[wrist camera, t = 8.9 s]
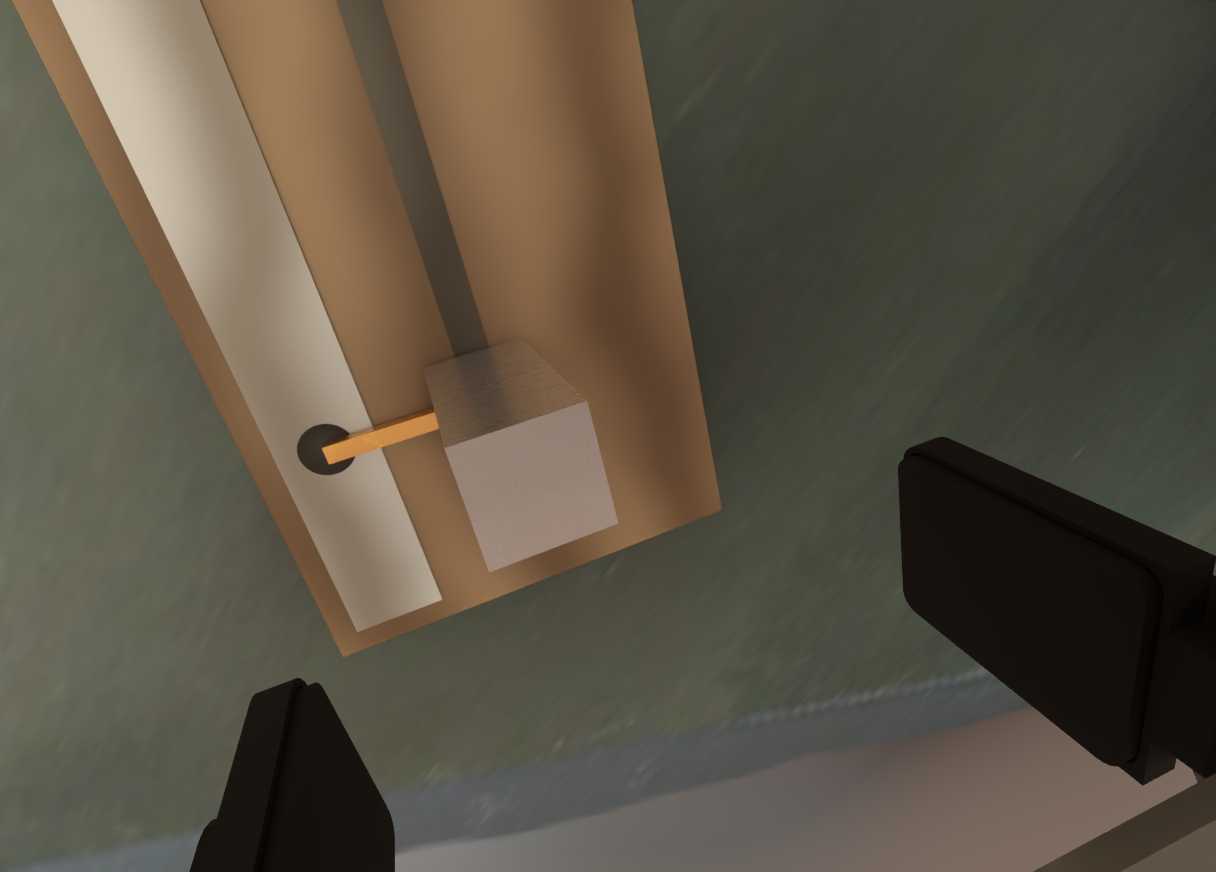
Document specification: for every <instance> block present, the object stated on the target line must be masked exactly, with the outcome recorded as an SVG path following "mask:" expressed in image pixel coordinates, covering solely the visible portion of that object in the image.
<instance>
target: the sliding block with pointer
mask: <svg viewBox="0 0 1216 872" xmlns="http://www.w3.org/2000/svg"><path fill="white" fill-rule="evenodd" d="M423 369H424V373H425V376H426V380H427V384H428V388H429V392H430V396H431V399H432V403H433V407H434V408H431V409H428V410H425V411H422V412H419V413H416V414H413V415H409V416H406V417H403V418H400V419H397V420H394V421H391V422H387V423H384V424H381V425H378V426H375V427H372V428H369V429H365V430H362V431H359V432H356V433H353V434H350V435H346V436H343V437H340V438H337V439H334V440H331V441H328V442H324V443H323V445H322V450H323V452H324V454H325V457H326V459H327V461H328V463H329V464H332V463H335V462H339V461H342V460H345V459H348V458H351V457H354V456H357V455H360V454H363V453H366V452H369V451H372V450H375V449H378V448H382V447H385V446H388V445H391V444H394V443H397V442H400V441H403V440H406V439H409V438H412V437H415V436H418V435H422V434H425V433H428V432H431V431H434V430H437V429H439V430H440V434H441V438H442V441H443V445H444V449H445V452H446V454H447V457H448V460H449V463H450V465H451V468H452V471H453V474H454V477H455V479H456V482H457V485H458V488H459V490H460V493H461V496H462V499H463V501H464V504H465V507H466V510H467V513H468V515H469V518H470V521H471V524H472V526H473V529H474V532H475V535H476V537H477V540H478V543H479V546H480V548H481V551H482V554H483V557H484V560H485V562H486V565H487V568H488V571H489V572H492V571H494V570H497V569H500V568H502V567H505V566H508V565H510V564H513V563H515V562H518V561H521V560H523V559H526V558H529V557H531V556H534V555H537V554H539V553H542V552H545V551H547V550H550V549H552V548H555V547H558V546H560V545H563V544H566V543H568V542H571V541H574V540H576V539H579V538H581V537H584V536H587V535H589V534H592V533H595V532H597V531H600V530H603V529H605V528H608V527H610V526H613V525H616V524H618V520H617V516H616V512H615V508H614V504H613V500H612V496H611V492H610V488H609V484H608V480H607V477H606V473H605V469H604V465H603V461H602V457H601V453H600V449H599V445H598V441H597V437H596V433H595V429H594V425H593V421H592V417H591V414H590V410H589V406H588V402H587V400H586V399H585V398H584V397H583V396H582V395H581V394H580V393H579V392H577V391H576V390H575V389H574V388H573V387H572V386H571V385H570V384H569V383H568V382H567V381H566V380H565V379H564V378H563V377H562V376H561V375H560V374H559V373H557V372H556V371H555V370H554V369H553V368H552V367H551V366H550V365H549V364H548V363H547V362H546V361H545V360H544V359H543V358H542V357H541V356H540V355H539V354H537V353H536V352H535V351H534V350H533V349H532V348H531V347H530V346H529V345H528V344H527V343H526V342H525V341H524V340H523V339H522V338H517V339H514V340H511V341H507V342H504V343H501V344H498V345H494V346H491V347H488V348H484V349H481V350H478V351H474V352H471V353H468V354H465V355H461V356H458V357H455V358H451V359H448V360H445V361H441V362H438V363H435V364H432V365H428V366H425V367H423Z"/></svg>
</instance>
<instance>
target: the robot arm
mask: <svg viewBox="0 0 1216 872" xmlns="http://www.w3.org/2000/svg"><path fill="white" fill-rule="evenodd" d="M898 480H899V503H900V527H901V551H902V575H903V592H904V596H905V598H906V600H907V602H908V604H909V606H910V607H911V608H912V609H913V610H914V611H915V612H916V613H917V614H918V615H919V616H921V617H922V618H923V619H924V620H926V621H927V622H928V623H929V624H931V625H932V626H933V627H934V628H936V629H937V630H938V631H939V632H940V633H942V634H943V635H944V636H945V637H947V638H948V639H949V640H950V641H952V642H953V643H954V644H955V645H957V646H958V647H959V648H960V649H962V650H963V651H964V652H965V653H967V654H968V655H969V656H970V657H972V658H973V659H974V660H975V661H977V662H978V663H979V664H980V665H982V666H983V667H984V668H985V669H987V670H988V671H989V672H990V673H992V674H993V675H994V676H995V677H997V678H998V679H999V680H1000V681H1002V682H1003V683H1004V684H1005V685H1007V686H1008V687H1009V688H1010V689H1012V690H1013V691H1014V692H1015V693H1016V694H1018V695H1019V696H1020V697H1021V698H1023V699H1024V700H1025V701H1026V702H1028V703H1029V704H1030V705H1031V706H1033V707H1034V708H1035V709H1036V710H1038V711H1039V712H1040V713H1041V714H1043V715H1044V716H1045V717H1047V718H1048V719H1049V720H1050V721H1051V722H1053V723H1054V724H1055V725H1056V726H1058V727H1059V728H1060V729H1061V730H1063V731H1064V732H1065V733H1066V734H1068V735H1069V736H1070V737H1071V738H1073V739H1074V740H1075V741H1076V742H1078V743H1079V744H1080V745H1081V746H1083V747H1084V748H1085V749H1086V750H1087V751H1089V752H1090V753H1091V754H1092V755H1094V756H1095V757H1096V758H1098V759H1099V760H1101V761H1102V762H1103V763H1106V764H1108V765H1110V766H1119V767H1120V768H1121V769H1123V770H1124V771H1125V772H1127V773H1128V774H1129V775H1130V776H1131V777H1133V778H1134V779H1135V780H1136V781H1138V782H1139V783H1140V784H1141V785H1145V784H1147V783H1148V782H1150V781H1152V780H1154V779H1156V778H1158V777H1160V776H1161V775H1163V774H1165V773H1167V772H1169V771H1171V770H1173V769H1174V768H1175V762H1176V758H1177V759H1179V760H1180V761H1182V762H1183V763H1185V764H1186V765H1187V766H1188V767H1190V768H1191V769H1193V772H1194V774H1195V777H1196V779H1197V782H1198V783H1197V784H1195V785H1193V786H1191V787H1189V788H1188V789H1186V790H1184V791H1182V792H1180V793H1178V794H1176V795H1174V796H1173V797H1171V798H1169V799H1167V800H1165V801H1163V802H1162V803H1160V804H1158V805H1156V806H1154V807H1152V808H1150V809H1149V810H1147V811H1145V812H1143V813H1141V814H1139V815H1137V816H1135V817H1134V818H1132V819H1130V820H1128V821H1126V822H1125V823H1122V824H1121V825H1119V826H1117V827H1115V828H1113V829H1111V830H1110V831H1108V832H1106V833H1104V834H1102V835H1100V836H1099V837H1096V838H1095V839H1093V840H1091V841H1089V842H1087V843H1086V844H1084V845H1082V846H1080V847H1078V848H1076V849H1074V850H1072V851H1071V852H1069V853H1067V854H1065V855H1063V856H1061V857H1060V858H1057V859H1056V860H1054V861H1052V862H1050V863H1048V864H1046V865H1045V866H1043V867H1041V868H1039V869H1037V870H1035V871H1034V872H1216V576H1214V575H1213V571H1214V566H1215V561H1216V556H1215V555H1212V554H1210V553H1208V552H1205V551H1203V550H1201V549H1199V548H1196V547H1194V546H1192V545H1190V544H1187V543H1185V542H1183V541H1180V540H1178V539H1176V538H1174V537H1171V536H1169V535H1167V534H1165V533H1162V532H1160V531H1158V530H1155V529H1153V528H1151V527H1149V526H1146V525H1144V524H1142V523H1140V522H1137V521H1135V520H1133V519H1130V518H1128V517H1126V516H1124V515H1121V514H1119V513H1117V512H1115V511H1112V510H1110V509H1108V508H1106V507H1103V506H1101V505H1099V504H1096V503H1094V502H1092V501H1090V500H1087V499H1085V498H1083V497H1081V496H1078V495H1076V494H1074V493H1071V492H1069V491H1067V490H1065V489H1062V488H1060V487H1058V486H1056V485H1053V484H1051V483H1049V482H1046V481H1044V480H1042V479H1040V478H1037V477H1035V476H1033V475H1031V474H1028V473H1026V472H1024V471H1021V470H1019V469H1017V468H1015V467H1012V466H1010V465H1008V464H1006V463H1003V462H1001V461H999V460H996V459H994V458H992V457H990V456H987V455H985V454H983V453H981V452H978V451H976V450H974V449H972V448H969V447H967V446H965V445H962V444H960V443H958V442H956V441H953V440H951V439H949V438H945V437H938V438H935V439H932V440H929V441H927V442H924V443H921V444H919V445H916V446H913V447H911V448H909V449H908V450H906V452H905V454H904V459H903V460H902V461H901V462H900V464H899V466H898ZM190 872H395V835H394V827H393V822H392V818H391V815H390V812H389V810H388V808H387V806H386V804H385V802H384V800H383V798H382V797H381V795H380V793H379V791H378V789H377V787H376V785H375V784H374V782H373V780H372V778H371V776H370V774H369V772H368V771H367V769H366V767H365V765H364V763H363V761H362V759H361V758H360V756H359V754H358V752H357V750H356V748H355V746H354V745H353V743H352V741H351V739H350V737H349V735H348V733H347V732H346V730H345V728H344V726H343V724H342V722H341V720H340V719H339V717H338V715H337V713H336V711H335V709H334V707H333V706H332V704H331V702H330V700H329V698H328V696H327V694H326V693H325V691H324V689H323V688H322V686H321V685H320V684H319V683H313V684H310V685H308V686H307V684H306V683H305V682H304V681H303V680H302V679H300V678H296V679H293V680H291V681H288V682H285V683H283V684H280V685H277V686H275V687H272V688H269V689H267V690H264V691H261V692H259V693H256V694H255V695H254V696H253V697H252V699H251V701H250V704H249V708H248V711H247V715H246V718H245V722H244V725H243V729H242V732H241V736H240V739H239V743H238V746H237V750H236V753H235V757H234V760H233V764H232V767H231V771H230V774H229V778H228V782H227V785H226V789H225V792H224V796H223V799H222V803H221V806H220V810H219V813H218V817H217V819H214V820H212V821H211V822H210V823H209V824H208V825H207V826H206V827H205V828H204V831H203V833H202V835H201V837H200V840H199V842H198V846H197V849H196V852H195V856H194V859H193V862H192V865H191V869H190Z"/></svg>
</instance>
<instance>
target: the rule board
mask: <svg viewBox="0 0 1216 872" xmlns="http://www.w3.org/2000/svg"><path fill="white" fill-rule="evenodd" d="M12 1H13V3H14V5H15V7H16V9H17V11H18V13H19V15H20V17H21V19H22V21H23V23H24V25H25V27H26V29H27V31H28V33H29V35H30V37H31V39H32V41H33V43H34V45H35V46H36V48H37V50H38V52H39V54H40V56H41V58H42V60H43V62H44V64H45V66H46V68H47V70H48V72H49V74H50V76H51V78H52V80H53V82H54V84H55V86H56V88H57V90H58V92H59V94H60V96H61V98H62V100H63V102H64V104H65V106H66V108H67V110H68V112H69V114H70V116H71V118H72V120H73V122H74V124H75V126H76V128H77V130H78V132H79V134H80V136H81V138H82V140H83V142H84V144H85V146H86V148H87V150H88V152H89V154H90V156H91V158H92V160H93V162H94V164H95V166H96V167H97V169H98V171H99V173H100V175H101V177H102V179H103V181H104V183H105V185H106V187H107V189H108V191H109V193H110V195H111V197H112V199H113V201H114V203H115V205H116V207H117V209H118V211H119V213H120V215H121V217H122V219H123V221H124V223H125V225H126V227H127V229H128V231H129V233H130V235H131V237H132V239H133V241H134V243H135V245H136V247H137V249H138V251H139V253H140V255H141V257H142V259H143V261H144V263H145V265H146V267H147V269H148V271H149V273H150V275H151V277H152V279H153V281H154V283H155V285H156V287H157V288H158V290H159V292H160V294H161V296H162V298H163V300H164V302H165V304H166V306H167V308H168V310H169V312H170V314H171V316H172V318H173V320H174V322H175V324H176V326H177V328H178V330H179V332H180V334H181V336H182V338H183V340H184V342H185V344H186V346H187V348H188V350H189V352H190V354H191V356H192V358H193V360H194V362H195V364H196V366H197V368H198V370H199V372H200V374H201V376H202V378H203V380H204V382H205V384H206V386H207V388H208V390H209V392H210V394H211V396H212V398H213V400H214V402H215V404H216V406H217V408H218V409H219V411H220V413H221V415H222V417H223V419H224V421H225V423H226V425H227V427H228V429H229V431H230V433H231V435H232V437H233V439H234V441H235V443H236V445H237V447H238V449H239V451H240V453H241V455H242V457H243V459H244V461H245V463H246V465H247V467H248V469H249V471H250V473H251V475H252V477H253V479H254V481H255V483H256V485H257V487H258V489H259V491H260V493H261V495H262V497H263V499H264V501H265V503H266V505H267V507H268V509H269V511H270V513H271V515H272V517H273V519H274V521H275V523H276V525H277V527H278V529H279V530H280V532H281V534H282V536H283V538H284V540H285V542H286V544H287V546H288V548H289V550H290V552H291V554H292V556H293V558H294V560H295V562H296V564H297V566H298V568H299V570H300V572H301V574H302V576H303V578H304V580H305V582H306V584H307V586H308V588H309V590H310V592H311V594H312V596H313V598H314V600H315V602H316V604H317V606H318V608H319V610H320V612H321V614H322V616H323V618H324V620H325V622H326V624H327V626H328V628H329V630H330V632H331V634H332V636H333V638H334V640H335V642H336V644H337V646H338V648H339V649H340V651H341V653H342V655H343V657H345V656H348V655H351V654H353V653H356V652H358V651H361V650H363V649H366V648H369V647H371V646H374V645H376V644H379V643H381V642H384V641H387V640H389V639H392V638H394V637H397V636H399V635H402V634H405V633H407V632H410V631H412V630H415V629H417V628H420V627H423V626H425V625H428V624H430V623H433V622H435V621H438V620H441V619H443V618H446V617H448V616H451V615H453V614H456V613H459V612H461V611H464V610H466V609H469V608H472V607H474V606H477V605H479V604H482V603H484V602H487V601H490V600H492V599H495V598H497V597H500V596H502V595H505V594H508V593H510V592H513V591H515V590H518V589H520V588H523V587H526V586H528V585H531V584H533V583H536V582H538V581H541V580H544V579H546V578H549V577H551V576H554V575H556V574H559V573H562V572H564V571H567V570H569V569H572V568H574V567H577V566H580V565H582V564H585V563H587V562H590V561H592V560H595V559H598V558H600V557H603V556H605V555H608V554H610V553H613V552H616V551H618V550H621V549H623V548H626V547H629V546H631V545H634V544H636V543H639V542H641V541H644V540H647V539H649V538H652V537H654V536H657V535H659V534H662V533H665V532H667V531H670V530H672V529H675V528H677V527H680V526H683V525H685V524H688V523H690V522H693V521H695V520H698V519H701V518H703V517H706V516H708V515H711V514H713V513H716V512H719V511H721V510H722V508H721V502H720V497H719V491H718V485H717V480H716V474H715V468H714V463H713V457H712V451H711V446H710V440H709V434H708V429H707V423H706V417H705V412H704V406H703V400H702V395H701V389H700V383H699V378H698V372H697V367H696V361H695V355H694V350H693V344H692V338H691V333H690V327H689V321H688V316H687V310H686V304H685V299H684V293H683V287H682V282H681V276H680V270H679V265H678V259H677V253H676V248H675V242H674V236H673V231H672V225H671V220H670V214H669V208H668V203H667V197H666V191H665V186H664V180H663V174H662V169H661V163H660V157H659V152H658V146H657V140H656V135H655V129H654V123H653V118H652V112H651V106H650V101H649V95H648V89H647V84H646V78H645V73H644V67H643V61H642V56H641V50H640V44H639V39H638V33H637V27H636V22H635V16H634V10H633V5H632V0H12ZM517 338H522V339H523V340H524V341H525V342H526V343H527V344H528V345H529V346H530V347H531V348H532V349H533V350H534V351H535V352H536V353H537V354H539V355H540V356H541V357H542V358H543V359H544V360H545V361H546V362H547V363H548V364H549V365H550V366H551V367H552V368H553V369H554V370H555V371H556V372H557V373H559V374H560V375H561V376H562V377H563V378H564V379H565V380H566V381H567V382H568V383H569V384H570V385H571V386H572V387H573V388H574V389H575V390H576V391H577V392H579V393H580V394H581V395H582V396H583V397H584V398H585V399H586V400H587V402H588V406H589V410H590V414H591V417H592V421H593V425H594V429H595V433H596V437H597V441H598V445H599V449H600V453H601V457H602V461H603V465H604V469H605V473H606V477H607V480H608V484H609V488H610V492H611V496H612V500H613V504H614V508H615V512H616V516H617V520H618V524H616V525H613V526H610V527H608V528H605V529H603V530H600V531H597V532H595V533H592V534H589V535H587V536H584V537H581V538H579V539H576V540H574V541H571V542H568V543H566V544H563V545H560V546H558V547H555V548H552V549H550V550H547V551H545V552H542V553H539V554H537V555H534V556H531V557H529V558H526V559H523V560H521V561H518V562H515V563H513V564H510V565H508V566H505V567H502V568H500V569H497V570H494V571H492V572H489V571H488V568H487V565H486V562H485V560H484V557H483V554H482V551H481V548H480V546H479V543H478V540H477V537H476V535H475V532H474V529H473V526H472V524H471V521H470V518H469V515H468V513H467V510H466V507H465V504H464V501H463V499H462V496H461V493H460V490H459V488H458V485H457V482H456V479H455V477H454V474H453V471H452V468H451V465H450V463H449V460H448V457H447V454H446V452H445V449H444V445H443V441H442V438H441V434H440V430H439V429H437V430H434V431H431V432H428V433H425V434H422V435H418V436H415V437H412V438H409V439H406V440H403V441H400V442H397V443H394V444H391V445H388V446H385V447H382V448H378V449H375V450H372V451H369V452H366V453H363V454H360V455H357V456H354V457H351V458H348V459H345V460H342V461H339V462H335V463H332V464H329V463H328V461H327V459H326V457H325V454H324V452H323V450H322V445H323V443H324V442H328V441H331V440H334V439H337V438H340V437H343V436H346V435H350V434H353V433H356V432H359V431H362V430H365V429H369V428H372V427H375V426H378V425H381V424H384V423H387V422H391V421H394V420H397V419H400V418H403V417H406V416H409V415H413V414H416V413H419V412H422V411H425V410H428V409H431V408H434V407H433V403H432V399H431V396H430V392H429V388H428V384H427V380H426V376H425V373H424V369H423V367H425V366H428V365H432V364H435V363H438V362H441V361H445V360H448V359H451V358H455V357H458V356H461V355H465V354H468V353H471V352H474V351H478V350H481V349H484V348H488V347H491V346H494V345H498V344H501V343H504V342H507V341H511V340H514V339H517Z"/></svg>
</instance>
